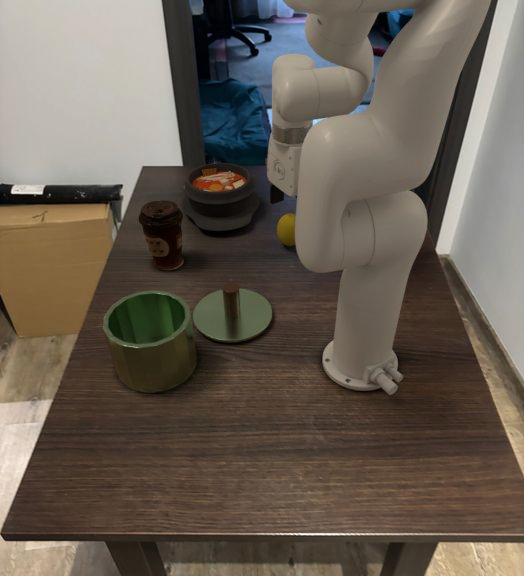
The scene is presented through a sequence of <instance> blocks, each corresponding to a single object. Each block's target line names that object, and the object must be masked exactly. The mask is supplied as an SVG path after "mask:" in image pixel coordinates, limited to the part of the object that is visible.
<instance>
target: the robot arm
mask: <svg viewBox="0 0 524 576" xmlns="http://www.w3.org/2000/svg"><path fill="white" fill-rule="evenodd" d="M282 1H283V3H284V5H286V6H287V7H288V8H289V9H291V10H293V11H295V12H300V13H304V14H307V15H306V18H305V23H304V33H305V34H304V35H305V39H306V41H307V44H308V45H309V47H310V48H311V50H312V51H313V52H314V53H316V55H317V56H319V58H321V59H323V60H324V61H327V62H329V63H332V64H334V65H335V66H325V67H318V68H317V67H316V62H315V61H314V59H313V58H312V57H311V56H308V55H306V54H304V53H303V54H302V53H285V54H281V55H280V56H277V58H275V60H274V61H273V63H272V66H271V133H270V137H269V141H268V148H267V157H266V158H265V159H264V163H265V166H266V176H267V180H268V181H267V182H268V185H269V204H271V205H274V204H278V203H281V202H283V201H284V200H285V194H286V195H287V196H288V197H290V198H295V199H296V205H295V207H296V208H295V215H296V219H295V243H296V244H295V250H296V254H297V257H298V259H299V261H300V263H301V264H302V266H303V267H304V268H305V269H306V270H308V271H310V272H312V273H317V274H325V273H332V272H338V271H342V272H341V276H340V281H339V289H338V297H337V304H336V305H337V306H336V314H335V315H336V316H335V324H334V334H333V340H332V341H330V342H329V343H328V344H327V345H326V346H325V348H324V350H323V352H322V362H321V363H322V367H323V370H324V372H325V373H326V375H327V376H328V378H329V379H331V380H332V381H333V382H334V383H336V384H337V385H339V386H341V387H344V388H346V389H348V390H353V391H360V392H361V391H362V392H366V391H375V390H378V389H382V390H383V391H384V392H385V393H386V394H388V396H392V395H394V394H395V393H396V392H397V390H398V389H399V386H398V385H397V383H400V382H402V380H403V379H404V375H403V374H402V373H401V372H399V371H398V367H399V362H398V357H397V354H396V353H395V351H394V350H393V346H394V341H395V336H396V333H397V328H398V323H399V318H400V314H401V309H402V305H403V302H404V301H403V300H404V297H405V292H406V288H407V284H408V280H409V277H410V274H411V270H412V268H413V265H414V263H415V261H416V258H417V256H418V254H419V252H420V250H421V248H422V246H423V243H424V241H425V238H426V235H427V230H428V212H427V209H426V205H425V203H424V202H423V200H422V198H420V196H418V194H417V193H415V192H413V191H412V190H414V189H416V188H418V187H420V186H421V185H422V184H424V182H425V181H426V180H427V178H428V177H429V175H430V173H431V171H432V169H433V166H434V163H435V161H436V158H437V154H438V150H439V147H440V144H441V141H442V137H443V133H444V130H445V126H446V123H447V120H448V117H449V112H450V110H451V106H452V102H453V100H454V95H455V91H456V87H457V84H458V82H459V79H460V76H461V73H462V71H463V69H464V66H465V63H466V61H467V58H468V56H469V54H470V52H471V50H472V48H473V46H474V44H475V42H476V40H477V37H478V36H479V33H480V31H481V29H482V27H483V24H484V22H485V20H486V17H487V14H488V11H489V9H490V6H491V3H492V0H282ZM403 10H413V15H412V17H411V18H410V20H409V21H408V22H407V23H406V24H405V25H404V26H403V27H402V28H401V30H399V32H398V33H397V34H396V35H395V37H394V38H393V40H392V41H391V43H390V45H388V47H387V49H386V51H385V52H384V54H383V56H382V58H381V59H380V61H379V64H378V67H377V70H376V72H375V73H376V74H375V77H374V71H375V69H374V68H375V56H374V50H373V47H372V44H371V41H370V40H369V36H368V35H369V34H370V31H371V29H372V27H373V26H374V24H375V22H376V20H377V17H378V15H379V14H380V13H387V12H388V13H389V12H395V11H403ZM373 78H374V84H373V85H374V86H373V91H372V96H371V100H370V103H369V105H368V106H367V107H366V109H363V111H361V112H354V111H355V110H356V109H358V108H359V106H360V105H361V103H362V102H363V100H364V98H366V97H365V96H366V95H367V93H368V92H369V90H370V88H371V86H372V83H373ZM314 120H319V121H317V122H316V123H315V124H314ZM393 380H394V381H395V382H396V383H395V382H394V381H393Z"/></svg>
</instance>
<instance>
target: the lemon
mask: <svg viewBox="0 0 524 576" xmlns="http://www.w3.org/2000/svg"><path fill="white" fill-rule="evenodd" d="M295 219H296V213H291V212H288V213H286V214H284V215H282V216H281V217H280V219H279V220H278V222H277V226H276V235H277V238H278V241H279V242H280V243H281V244H282V245H284V246H286V247H290V248H291V247H293V246H296V243H295Z"/></svg>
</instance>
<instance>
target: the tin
mask: <svg viewBox="0 0 524 576" xmlns="http://www.w3.org/2000/svg"><path fill="white" fill-rule="evenodd" d="M102 321H103V322H102V323H103V324H102V330H103V333H104V336H105V340H106V343H107V347H108V349H109V352H110V356H111V359H112V362H113V365H114V369H115V372H116V374H117V376H118V378H119V380H120V382H122V384H124V385H125V386H126V387H127V388H129V389H130V390H133V391H136V392H139V393H145V394H156V393H157V394H158V393H163V392H168V391H170V390H172V389H175V388H177V387H179V386H180V385H183V383H185V382H186V381H187V380H188V379H190V377H191V376H192V374H193V373H194V371H195V370H196V367H197V362H198V359H197V358H198V357H197V350H196V341H195V335H194V329H193V328H194V327H193V322H192V321H193V320H192V315H191V308H190V305H188V304H187V303H186V301H185V300H184V298H183V297H181V296H179V295H177V294H175V293H172V292H170V291H166V290H157V289H153V290H152V289H151V290H143V291H136V292H134V293H131V294H129V295H126V296H124V297H122V298H120V299H119V300H118V301H116V302H115V303H113V304H112V305H110V306H109V309H107V311H106V313H105V315H103V320H102Z"/></svg>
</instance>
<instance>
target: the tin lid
mask: <svg viewBox="0 0 524 576" xmlns="http://www.w3.org/2000/svg"><path fill="white" fill-rule="evenodd" d="M272 319H273V307H272V305H271V303H270V302H269V301H268V300H267V298H266V297H264V296H263V295H262V294H260V293H258V292H256V291H253V290H250V289H246V288H240V285H239V284H238V283H237V282H234V281H230V282H225V283H224V284H223V285H222V287H221V289H219V290H215V291H213V292H211V293H208V294H207V295H205V296H204V297H202V298H201V299H200V300H199V301H198V302H197V304H196V305H195V306H194V308H193V311H192V321H193V324H194V327H195V329H196V330H197V331H198V332H199V333H200V334H202V336H204V337H206V338H208V339H210V340H213V341H215V342H221V343H240V342H245V341H249V340H252V339H254V338H256V337H258V336H259V335H261V334H263V332H265V331H266V330H267V329H268V328H269V326H270V325H271V322H272Z"/></svg>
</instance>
